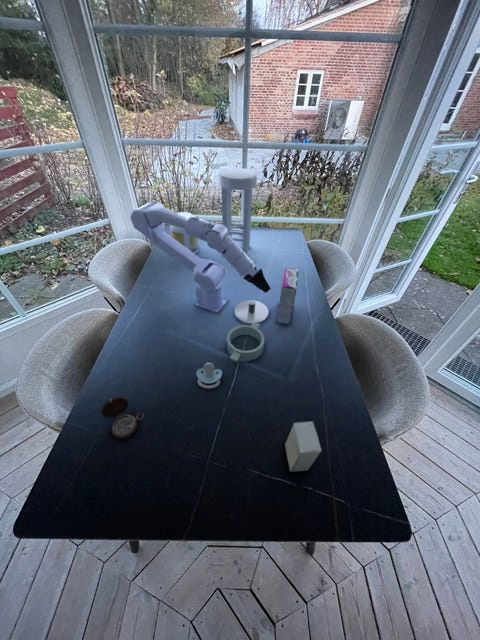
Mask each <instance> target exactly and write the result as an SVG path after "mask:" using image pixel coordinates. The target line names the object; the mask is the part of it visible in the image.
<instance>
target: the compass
mask: <svg viewBox="0 0 480 640" xmlns="http://www.w3.org/2000/svg"><path fill="white" fill-rule="evenodd" d="M128 408H129V401H128V399H127V398H126V397H125V396H121V395H120V396H114V397H111V398H110V399H108V400H107V401H105V402H104V403H103V404H102V406H101V411H100V412H101V415H102V416H103V417H104V418H107V419H112V418H115V419H114V420H113V422H112V423H111V427H110V433H111V435H112V436H113V437H114V438H116V439H119V440H123V439H126V438H130V436H132V435H133V434H134V433H135V431H137V428H138V421H141V420H142V419H143V418H144V417H145V416H144V413H143V412H139V413H137V414H136V416H135V415H134V414H132V413H125V412H126V411H127V410H128ZM141 414H142V418H139V415H141Z"/></svg>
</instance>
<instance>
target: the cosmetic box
mask: <svg viewBox="0 0 480 640" xmlns="http://www.w3.org/2000/svg"><path fill="white" fill-rule="evenodd" d="M284 447H285V452H286V453H285V454H286V458H287V463H288V468H289V472H292V473H294V472H306V471H307V472H308V471H309V469H310V468H311V467H312V466H313V464H314V462H315V461H316V459H317V458H318V457H319V456H320V454H321V452H322V446H321V444H320V440H319V436H318V433H317V429H316V426H315V424H314V421H313V420H312V421H300V422H299V421H297V422H294V423H293V425H292V427H291V429H290V431H289V434H288V437H287V439H286V441H285V443H284Z"/></svg>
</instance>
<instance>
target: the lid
mask: <svg viewBox="0 0 480 640" xmlns="http://www.w3.org/2000/svg"><path fill="white" fill-rule="evenodd" d="M233 310H234V312H233V313H234V316H235V318H236V319H237V320H238V321H240V322H242V323H245V324H247V325H252V323H253V322H255V323H258V324H260V323H263V322H264V321H265V320H267V319H268V317H269V312H270V311H269V308H268V307H267V306H266V304H264V303H263V302H261V301H259V300H255V299H254V300H253V299H248V300H243V301H240V302H239V303H238V304H236V305H235V308H234V309H233Z"/></svg>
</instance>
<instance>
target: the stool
mask: <svg viewBox="0 0 480 640" xmlns="http://www.w3.org/2000/svg"><path fill="white" fill-rule="evenodd" d="M217 184H218V185H219V187H221V216H222V217H221V218H222V219H221V221H222V222H221V223H223V224H225V225H226V226H227V227H228V229H229V233H230V234H229V235H230V236H231V238H232V239H233V240H234V241H235V242H242V248H241V249H242V250H243V251H244V252H245V253H246V255H247V256H248V252H249V251H248V250H250V245H251V243H250V242H251V227H252V226H251V225H252V205H253V189H254V188H255V187H257V184H258V172H256V171H255V170H253V169H249V168H241V167H232V168H231V167H230V168H225V169H221V170H220V171H219V172H218V174H217ZM234 190H235V191H243V218H242V219H243V220H242V222H233V221H232V219H233V217H232V216H233V215H232V214H233V213H232V211H233V210H232V209H233V207H232V198H233V197H232V194H233V193H232V192H233V191H234ZM233 226H234V227H242V229H241V228H233ZM233 235H237V236H239V235H240V236H242V237H233Z"/></svg>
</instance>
